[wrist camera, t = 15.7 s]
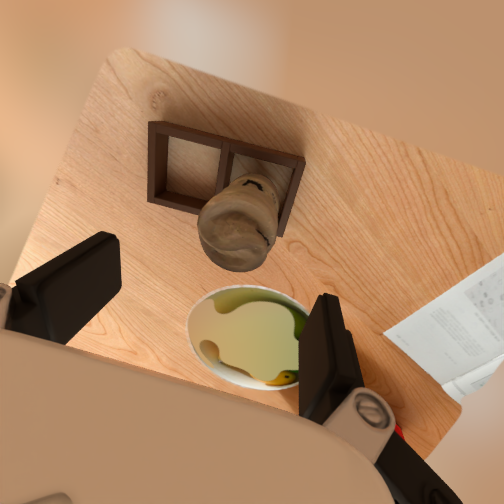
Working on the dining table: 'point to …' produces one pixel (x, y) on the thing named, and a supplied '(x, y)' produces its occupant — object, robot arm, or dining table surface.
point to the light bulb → (240, 223)
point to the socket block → (158, 169)
